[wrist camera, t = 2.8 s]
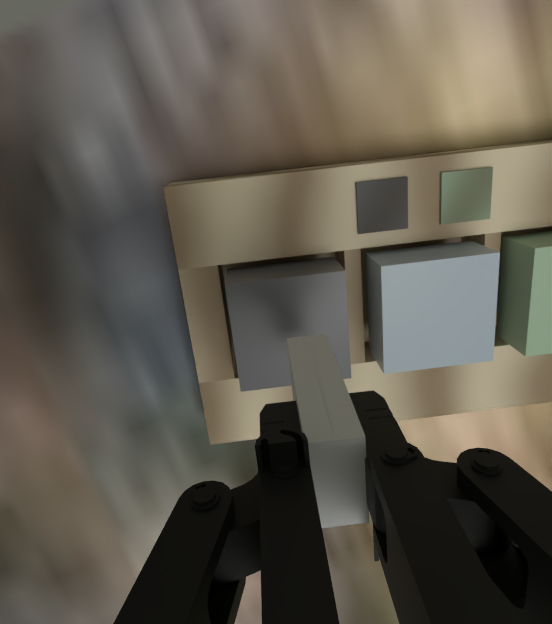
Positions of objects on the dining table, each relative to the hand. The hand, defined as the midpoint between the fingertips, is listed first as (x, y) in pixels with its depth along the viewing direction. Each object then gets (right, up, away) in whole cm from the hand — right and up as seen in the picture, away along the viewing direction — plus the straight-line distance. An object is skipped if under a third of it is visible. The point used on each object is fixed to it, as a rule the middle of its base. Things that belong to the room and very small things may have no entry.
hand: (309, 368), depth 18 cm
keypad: (+6, +4, +9) cm, 11 cm away
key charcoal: (-1, +2, +6) cm, 7 cm away
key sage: (+13, +4, +6) cm, 15 cm away
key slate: (+6, +3, +6) cm, 9 cm away
